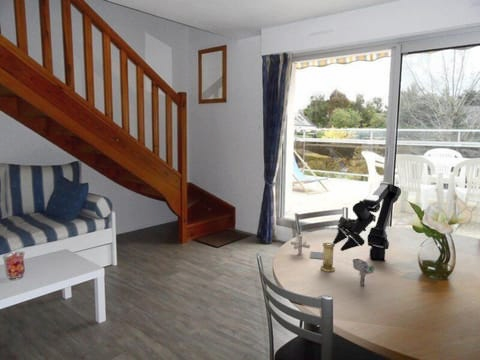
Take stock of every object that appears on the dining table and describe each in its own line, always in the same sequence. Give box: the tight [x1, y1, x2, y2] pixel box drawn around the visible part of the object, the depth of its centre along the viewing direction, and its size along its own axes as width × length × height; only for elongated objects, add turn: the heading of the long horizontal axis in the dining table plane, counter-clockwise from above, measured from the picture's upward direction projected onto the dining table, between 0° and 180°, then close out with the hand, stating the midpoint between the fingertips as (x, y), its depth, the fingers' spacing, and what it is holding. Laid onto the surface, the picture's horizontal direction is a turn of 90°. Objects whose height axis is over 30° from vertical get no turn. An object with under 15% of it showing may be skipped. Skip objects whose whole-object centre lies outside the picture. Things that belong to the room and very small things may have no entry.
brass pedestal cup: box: [320, 242, 336, 273], centre depth 167 cm, size 6×6×12 cm
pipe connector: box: [290, 234, 311, 256], centre depth 187 cm, size 10×10×10 cm
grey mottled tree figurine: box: [352, 258, 375, 287], centre depth 150 cm, size 3×10×10 cm, turn 27°
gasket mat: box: [309, 251, 323, 260], centre depth 185 cm, size 9×9×1 cm
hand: (337, 246), depth 166 cm, fingers open, 9 cm apart
